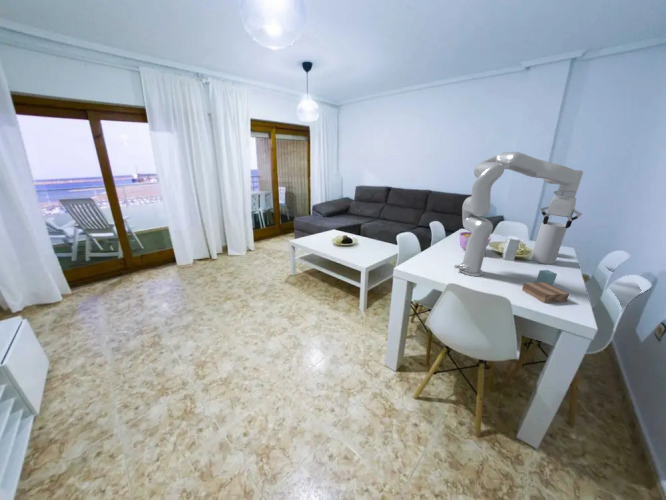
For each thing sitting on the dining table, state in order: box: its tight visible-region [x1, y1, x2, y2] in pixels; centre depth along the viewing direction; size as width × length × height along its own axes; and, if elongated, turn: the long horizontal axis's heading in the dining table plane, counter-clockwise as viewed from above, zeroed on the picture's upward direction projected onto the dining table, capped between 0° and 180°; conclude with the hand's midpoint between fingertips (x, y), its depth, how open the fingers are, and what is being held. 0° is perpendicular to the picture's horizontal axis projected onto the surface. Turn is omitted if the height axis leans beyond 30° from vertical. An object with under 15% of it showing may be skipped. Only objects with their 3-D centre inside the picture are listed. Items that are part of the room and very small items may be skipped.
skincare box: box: [501, 235, 521, 262], centre depth 166 cm, size 8×6×15 cm
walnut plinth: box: [521, 281, 570, 304], centre depth 121 cm, size 12×12×4 cm
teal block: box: [535, 269, 558, 286], centre depth 132 cm, size 5×5×7 cm
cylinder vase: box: [530, 221, 568, 265], centre depth 161 cm, size 12×12×25 cm
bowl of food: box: [459, 231, 492, 251], centre depth 179 cm, size 20×20×12 cm
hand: (555, 225), depth 138 cm, fingers open, 9 cm apart
